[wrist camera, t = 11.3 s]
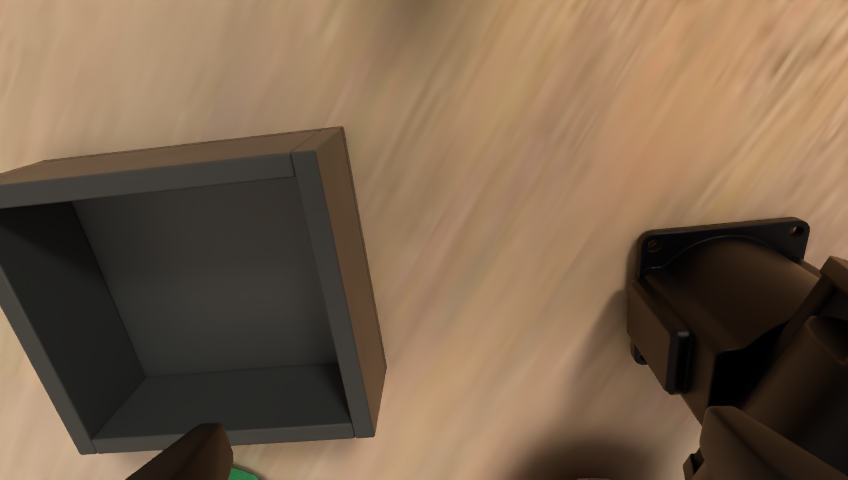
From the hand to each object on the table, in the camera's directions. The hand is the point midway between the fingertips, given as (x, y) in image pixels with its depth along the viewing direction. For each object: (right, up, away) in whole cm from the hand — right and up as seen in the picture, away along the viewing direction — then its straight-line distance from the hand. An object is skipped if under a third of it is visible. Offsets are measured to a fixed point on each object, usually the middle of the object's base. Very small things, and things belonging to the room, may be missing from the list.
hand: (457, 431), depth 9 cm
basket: (-9, +2, +12) cm, 16 cm away
